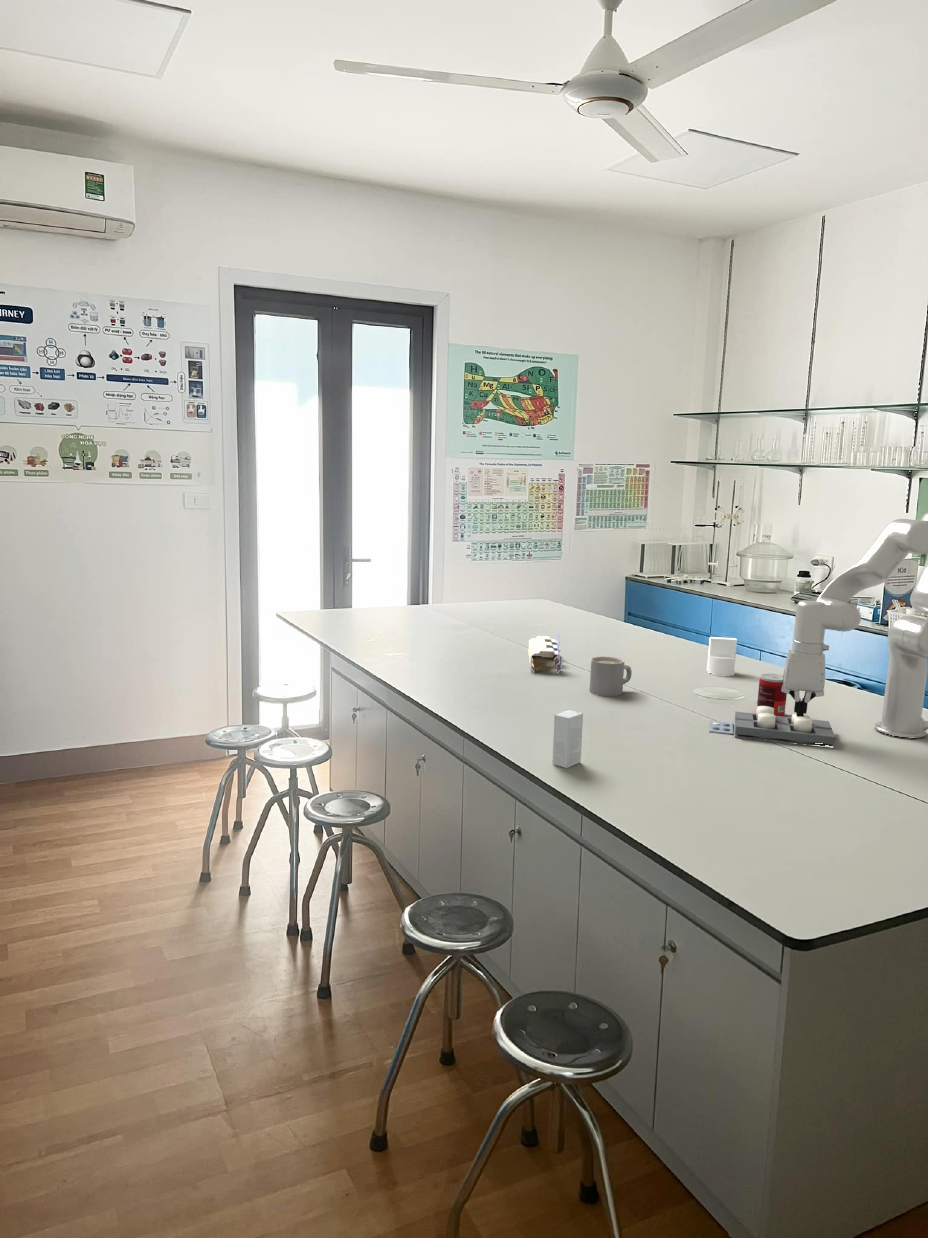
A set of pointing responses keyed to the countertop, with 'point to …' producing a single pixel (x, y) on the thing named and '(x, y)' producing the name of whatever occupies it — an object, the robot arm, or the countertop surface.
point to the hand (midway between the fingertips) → (799, 715)
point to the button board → (775, 730)
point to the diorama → (545, 650)
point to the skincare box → (567, 738)
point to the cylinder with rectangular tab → (721, 655)
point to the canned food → (772, 693)
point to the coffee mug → (608, 676)
